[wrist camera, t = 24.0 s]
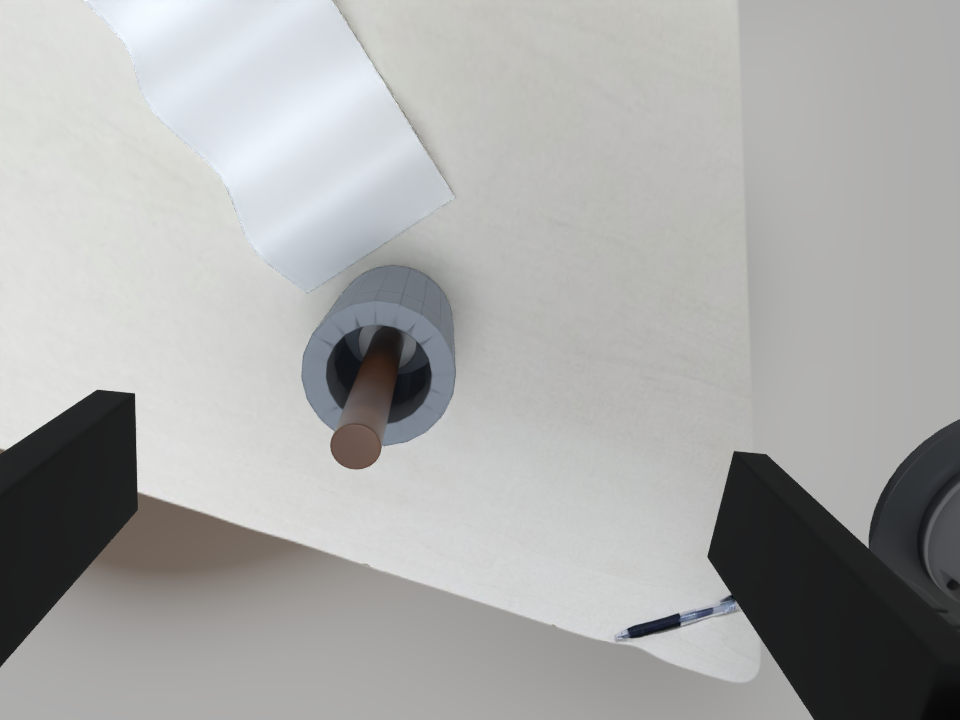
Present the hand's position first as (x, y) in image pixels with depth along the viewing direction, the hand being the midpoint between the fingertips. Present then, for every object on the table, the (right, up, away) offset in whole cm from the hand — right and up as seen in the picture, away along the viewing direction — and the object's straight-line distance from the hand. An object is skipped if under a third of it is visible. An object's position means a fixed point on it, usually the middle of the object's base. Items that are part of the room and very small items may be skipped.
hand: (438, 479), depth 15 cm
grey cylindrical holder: (-6, +5, +36) cm, 37 cm away
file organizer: (-16, +25, +30) cm, 42 cm away
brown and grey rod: (-6, +5, +35) cm, 36 cm away
